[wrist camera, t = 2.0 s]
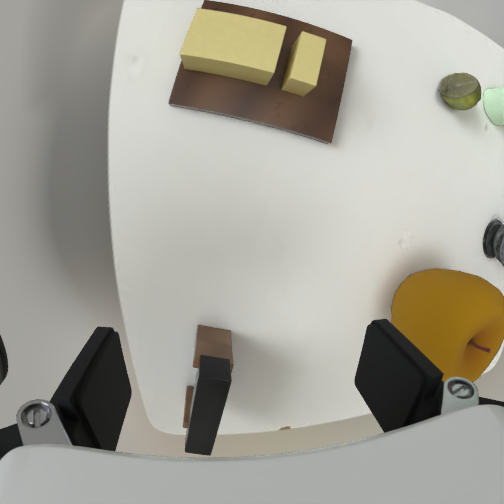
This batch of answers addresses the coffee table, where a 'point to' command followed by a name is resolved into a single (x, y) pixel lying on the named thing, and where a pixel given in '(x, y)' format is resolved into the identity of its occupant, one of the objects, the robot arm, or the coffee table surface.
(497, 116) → the candle
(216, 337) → the brown block
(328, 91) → the butter board
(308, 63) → the butter slice
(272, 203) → the coffee table surface
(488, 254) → the black chess piece
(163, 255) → the coffee table surface
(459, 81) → the lime
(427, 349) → the apple
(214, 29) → the butter block
